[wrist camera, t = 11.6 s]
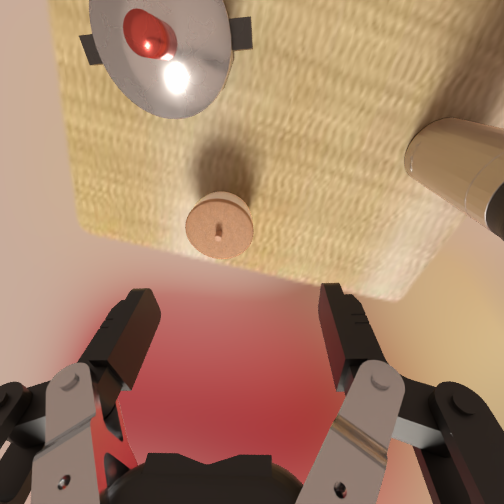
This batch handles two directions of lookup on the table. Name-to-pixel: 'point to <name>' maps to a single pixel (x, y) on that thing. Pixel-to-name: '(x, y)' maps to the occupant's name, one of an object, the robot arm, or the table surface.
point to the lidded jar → (220, 225)
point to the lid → (164, 51)
